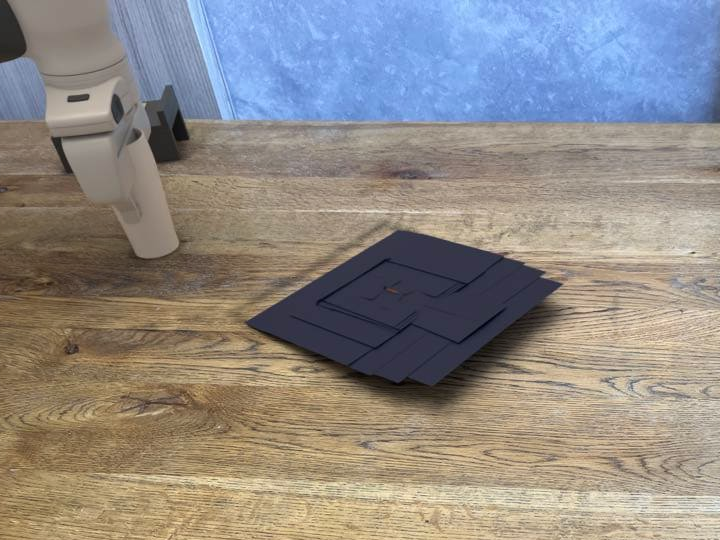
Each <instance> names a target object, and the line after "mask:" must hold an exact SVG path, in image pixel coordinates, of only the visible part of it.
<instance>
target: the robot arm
mask: <svg viewBox="0 0 720 540" xmlns="http://www.w3.org/2000/svg"><path fill="white" fill-rule="evenodd" d="M20 58H28V59H30V60H32V62H34V64H35V66H36V68H37V71H38V73H39V75H40V77H41V79H42V83H43V84H44V85H43V89H44V93H45V99H46V102H45V103H46V106H45V115H44V120H45V124H46V127H47V129H48V131H49V133H50V135H51V136H53V137H61V142H62V147H63V150H64V153H65V156H66V158H67V160H68V162H69V164H70V166H71V168H72V170H73V172H74V173H73V174H74V177H75V178H76V180H77V182H78V184H79V186H80V188H81V190H82V192H83V193H84V195H85V197H86V199H88V200H89V201H90V203H92V204H93V205H94V206H96V207H105V206H111V205H114V206H115V207H116V209H117V210H118V211H120V213H121V216H122V218H123V220H124V222H125V223H126V224H135V223H139V222H140V219H141V216H142V213H141V211H140V208H139V205H138V203H135V202H134V201H133V199H132V197H131V195H132V193H131V188H132V185H133V182H134V179H135V176H136V170H135V167H134V165H133V162H132V160H131V158H130V155H129V153H128V150H127V148H126V145H129V144H131V143H133V142H135V141H136V140H138V138H137V135H136V133H135V131H134V128H133V127H136V128H139V129H141V130H142V131H143V132H144V134H145V136H146V139H147V141H148V139H149V136H150V134H151V126H150V122H149V118H148V116H147V113H146V111H145V109H144V106H143V104H142V102H143V101H142V93H141V90H140V87H139V85H138V82H137V78H136V76H135V73H134V71H133V68H132V65H131V62H130V60H129V57H128V55H127V51H126V49H125V47H124V45H123V44H122V43H121V41H120V40H119V38H118V36H117V35H116V33H115V30H114V27H113V23H112V12H111V8H110V5H109V2H108V0H0V64H4V63H8V62H12V61H15V60H17V59H20Z"/></svg>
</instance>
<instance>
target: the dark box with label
mask: <svg viewBox="0 0 720 540" xmlns="http://www.w3.org/2000/svg"><path fill="white" fill-rule="evenodd" d="M142 104H143V106H144V109H145V111H146V113H147V116H148V118H149V122H150V126H151V134H150V136H149V139H148V143H149V146H150V148H151V151H152V153H153V156H154V159H155V162H156V164H158V163H166V162H167V163H168V162H174V161H175V162H176V161H181V160H182V155H181V152H180V149H179V146H178V144H177V142H179V141H187V140H190V138H191V137H190V133H189V130H188V127H187V125H186V121H185V117H184V115H183V112H182V109H181V107H180V104H179V101H178V97H177V95H176V92H175V89H174V86H173V84H167V85H164V89H163V91H162V94H161V96H160V99H155V100H147V101H146V100H145V101H144V100H143V101H142ZM50 140H51V142H52V144H53V147H54V148H55V150H56V153H57V155H58V157H59V160H60V161H61V164H62V166H63V167H64V168H63V169H64V170H65V172H66V174H74V172H73V170H72V168H71V166H70V164H69V162H68V160H67V158H66V156H65V153H64V150H63V147H62V142H61V137H53V136H52V135H51V136H50Z"/></svg>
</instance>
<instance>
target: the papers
mask: <svg viewBox="0 0 720 540" xmlns="http://www.w3.org/2000/svg"><path fill="white" fill-rule="evenodd" d="M525 264H526V262H523V261H521V260H520V261H519V260H516V259H513V258H509V257H506V256H505V255H504V254H499V253H496V252H492V251H488V250H486V249H481V248H477V247H474V246H469V245H466V244H462V243H459V242H455V241H451V240H447V239H444V238H440V237H436V236H432V235H429V234H425V233H419V232H414V231H410V230H406V229H403V230H401V229H397V230H396V231H394V232H392V233H390V234H388V235H386V236H385V237H383V238H382V239H380V240H378V241H377V242H375V243H374V244H372V245H370V246H369V247H367V248H365V249H364V250H362V251H360V252H359V253H357V254H356V255H354V256H352V257H350V258H349V259H347V260H345V261H343V262H342V263H341V264H339V265H337V266H335V267H334V268H332V269H331V270H329V271H327V272H326V273H324V274H322V275H320V276H319V277H317V278H316V279H314V280H312V281H311V282H309V283H307V284H305V285H304V286H302V287H301V288H298V290H295V291H294V292H292V293H291V294H289V295H287V296H286V297H284V298H283V299H280V300H279V301H278V302H276V303H274V304H273V305H271V306H268V308H266V309H263V311H261V312H259V313H257V314H256V315H254V316H252V317H250V318H249V319H248V320H246V321H245V322H244V324H246V325H247V326H249V327H252V328H255V329H257V330H259V331H262V332H264V333H266V334H267V333H268V334H271V335H273V336H275V337H278V338H280V339H281V340H284V341H287V342H290V343H292V344H294V345H296V346H299V347H301V348H304V349H306V350H309V351H311V352H313V353H316V354H318V355H321V356H322V357H324V358H327V359H330V360H332V361H334V362H337V363H339V364H341V365H343V366H345V367H348V368H350V369H353V370H354V371H358V372H360V373H362V374H366V375H368V376H372V375H373V374H374V375H376V376H378V377H381V378H383V379H386V380H388V381H389V380H390V381H392V382H394V383H397V384H399V383H400V382H402V381H403V380H404V379H406V378H408V379H411V380H414V381H417V382H420V383H422V384H425V385H427V386H430V387H434V386H435V385H436V384H437V383H439V382H440V381H441V380H443V379H444V378H445V377H447V375H449V374H450V373H452V372H453V371H454V370H455V369H456V368H458V367H459V366H460V365H461V364H462V363H464V362H465V361H466V360H468V359H469V358H470V357H471V356H473V355H474V354H476V353H477V352H478V351H479V350H480V349H482V348H483V347H484V346H485V345H486V344H488V343H489V342H490V341H491V340H493V339H494V338H495V337H497V336H498V335H499V334H500V333H501V332H503V331H504V330H505V329H507V328H508V327H509V326H510V325H512V324H513V323H515V322H516V321H517V320H518V319H520V318H521V317H522V316H524V315H525V314H527V313H528V312H529V311H530V310H532V309H533V308H534V307H536V306H537V305H538V304H539V303H541V302H543V301H544V300H546V299H547V298H548V297H549V296H550V295H552V294H553V293H554V292H555V291H557V290H558V289H559V288H561V287H562V286H564V283H563V282H559V281H555V280H552V279H548V278H545V277H542V276H543V275H545V274H546V273H547V271H545V270H542V269H539V268H535V267H531V266H528V265H525Z"/></svg>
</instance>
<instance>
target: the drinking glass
mask: <svg viewBox="0 0 720 540" xmlns="http://www.w3.org/2000/svg"><path fill="white" fill-rule="evenodd" d="M133 128H134V131H135V133H136V135H137V138H138V140H136V141H135V142H133V143H131V144H129V145H126V148H127V150H128V153H129V155H130V158H131V160H132V162H133V165H134V167H135V170H136V176H135V179H134V182H133V185H132V188H131V193H132V195H131V197H132V199H133V201H134V202H135V203H138V205H139V208H140V211H141V213H142V216H141V219H140V222H139V223H135V224H126V223H125V222H124V220H123V218H122V216H121V213H120V211H118V210H117V209H116V207H115V206H114V205H110V207H111V209H112V211H113V212H114V215H115V216H116V218H117V220H118V222H119V224H120V226H121V227H122V229H123V231H124V234H125V235H126V237H127V240H128V241H129V243H130V245H131V247H132V250H133V252H134V254H135V256H137V257H138V258H141V259H157V258H160V257H164V256H166V255H169V254H171V253H173V252H174V251H176V249H177V248H178V247H179V245H180V241H179V237H178V235H177V232H176V229H175V224H174V222H173V218H172V216H171V215H172V214H171V211H170V208H169V204H168V201H167V197H166V194H165V189H164V186H163V182H162V179H161V175H160V172H159V168H158V165H157V163H156V162H155V159H154V156H153V153H152V151H151V148H150V146H149V143H148V141H147V139H146V136H145V134H144V132H143V131H142V130H141V129H139V128H136V127H133Z"/></svg>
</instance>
